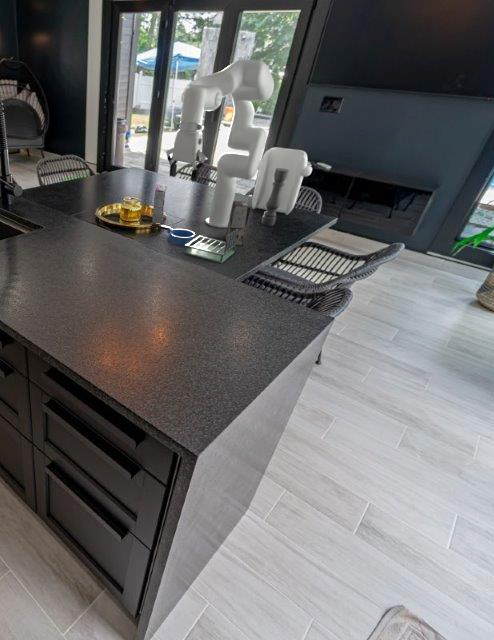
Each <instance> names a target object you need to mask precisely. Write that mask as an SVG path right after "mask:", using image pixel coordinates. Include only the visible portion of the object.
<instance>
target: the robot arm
mask: <svg viewBox="0 0 494 640" xmlns="http://www.w3.org/2000/svg"><path fill="white" fill-rule="evenodd" d="M274 90H275V81H274V77H273V75H272V72H271V71H270V68H269V67H268V64H266V62H265V61H263V60H260V59H259V60H258V59H257V60H255V59H252V60H251V59H239V60H236V61H234V62H232V63H231V64H230V65H228V66H227V67H225V68H224V69H222V70H221V71H218V72H213V73H211V74H207V75H204V76H200V77H198V78H195V79H194V80H192V81H190V82H189V83H188V84H186V86H185V87H184V88H183V90H182V92H181V97H180V101H181V104H182V106H181V111H180V112H181V113H180V120H179V121H180V122H179V129H178V130H177V131H176V135H175V139H174V143H173V147H172V148H170V149H168V150H166V156H167V157H166V158H167V161H168V162H169V163H168V164H169V177H174V176H176V175H177V168H178V162H181V163H185V164H191V165H192V168H193V169H192V170H191V176H190V181H191V182H195V181H197V180H198V177H199V172H200V170H201V168H202V167H204V166H205V164H206V162H207V161H208V157H207V156H206V155H205V154H204V153H203V140H204V139H203V138H204V137H203V132H201V131H203V130H205V129H204V128H205V126H204V125H203V116H204V111H207V112H211V111H215V110H217V109H218V108H219V107H220V106H221V104H222V101H223V98H225V97H228V96H231V100H232V105H233V115H232V119H231V120H232V121H231V123H230V127H229V131H228V135H227V140H226V146H227V147H228V148H229V149H231V150H235V151H240V152H241V151H242V152H248V154H243V153H238V152H224V153H222V154H221V155H220V156H219V157H218V159H217V163H216V179H215V180H216V181H215V186H214V191H213V196H212V202H211V208H210V213H209V217H207V218H206V219H205V224H206V225H208V226H209V227H214V228H221V229H223V228H224V229H225V228H226V229H227V227H228V222H229V218H230V213H231V208H232V204H233V201H235V196H236V193H237V181H236V179H235V178H238V179H242V180H251V179H253V178H254V177H255V176H256V174H257V171H258V170H257V168H258V165H259V162H260V160H262V155H263V151H264V149H265V144H266V141H267V132H266V130H265V129H264V128H262V127H259V126H258V127H257V126H253V122H254V118H255V114H256V113H255V107H254V105H253V103H252V102H259V103H264V102H266V101H268V100H270V99H271V97H272V96H273V94H274Z"/></svg>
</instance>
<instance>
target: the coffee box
mask: <svg viewBox="0 0 494 640" xmlns="http://www.w3.org/2000/svg"><path fill="white" fill-rule="evenodd" d="M251 209H252V206H251V205H250V202H248V201H243V200H234V201H233V204H232V208H231V213H230V218H229V222H228V227H226V233H225V241H226V240H227V236H228V235H229V237H230V233H232V234H233V231H235V230H236V229H238V230H237V234H236V239H235V243H234V244H236V246H237V245H238V246H242V245H243V240H244V237H245V234H246V232H245V231H246V229H247V225H248V221H249V218H250V217H249V216H250V213H251ZM234 235H235V234H234ZM231 238H232V237H231ZM233 239H234V238H233ZM228 242H229V240H228ZM230 243H231V241H230ZM232 244H233V242H232Z"/></svg>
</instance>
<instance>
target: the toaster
mask: <svg viewBox="0 0 494 640" xmlns="http://www.w3.org/2000/svg"><path fill="white" fill-rule="evenodd" d="M308 160H309V159H308V154H307V152H306V151H304V150H301V149H294V148H293V149H292V148H285V147H276V146H275V147H271V148H270V149H268V150H266V152H265V153H264V154H263V156H262V157H261V159H260V162H259V165H258V168H257V171H258V172H257V177H256V180H255V185H254V189H253V193H252V197H251V209H252V210H255V209H259V210H260V209H261V210H266V211H267V207H266V202H267V200H268V199H269V197H270V195H271V193H272V189H273V184H272V183H273V182H275V180H274V174H275V170H276V168H283V169H288V170H289V172H288V175H287V178H286V180H285V181H284V182H283V183H284V186H283V187H282V189H281V193H280V206H279V207H278V208H277V209H276V211H275V212H276V213H283V214H285V216H288V215H289V214H290V213H291V212H292V211H293V209H294V207H295V205H296V202H297V199H298V196H299V193H300V189H301V187H302V186H301V185H302V182H303V180H304V177H308V176H310V175H311V174H312V172H313V167H312V166H310V165H308Z"/></svg>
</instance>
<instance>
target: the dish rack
mask: <svg viewBox="0 0 494 640" xmlns="http://www.w3.org/2000/svg"><path fill="white" fill-rule="evenodd" d="M237 230H238V229H236V230H235V231H233V234H232V233H230V237H229V235H228V236H227V240H226V239H225V241H223V240H219V239H215V238H211V237H207V236H203V235H198V236H197V237H195V239H194V240H192V241H191V242H189V243H188V244H186V245H185V246H184V247H185V249H184V251H183V254H185V255H189V256H193V257H196V258H200V259H202V260H203V259H204V260H208V261H210V262H215V263H218V264H223V263H224V262H225V261H226V260H227V259H228V258H230V257H231V256H232V255H233V254H234V253H235V248H236V246H237V245H236V244H234V243H235V239H236V234H237ZM234 234H235V235H234ZM231 237H232V238H231ZM233 238H234V239H233ZM205 240H207V241H205ZM228 240H229V242H228ZM196 241H197V242H196ZM203 241H205V242H203ZM230 241H231V243H230ZM193 242H194V243H195V242H196V243H195V244H194V243H193ZM209 242H212V243H210V244H208V243H209ZM232 242H233V244H232ZM192 243H193V244H192ZM216 243H218V244H217V245H215V244H216ZM190 244H191V245H190ZM222 244H223V246H222V247H220V246H221V245H222Z"/></svg>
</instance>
